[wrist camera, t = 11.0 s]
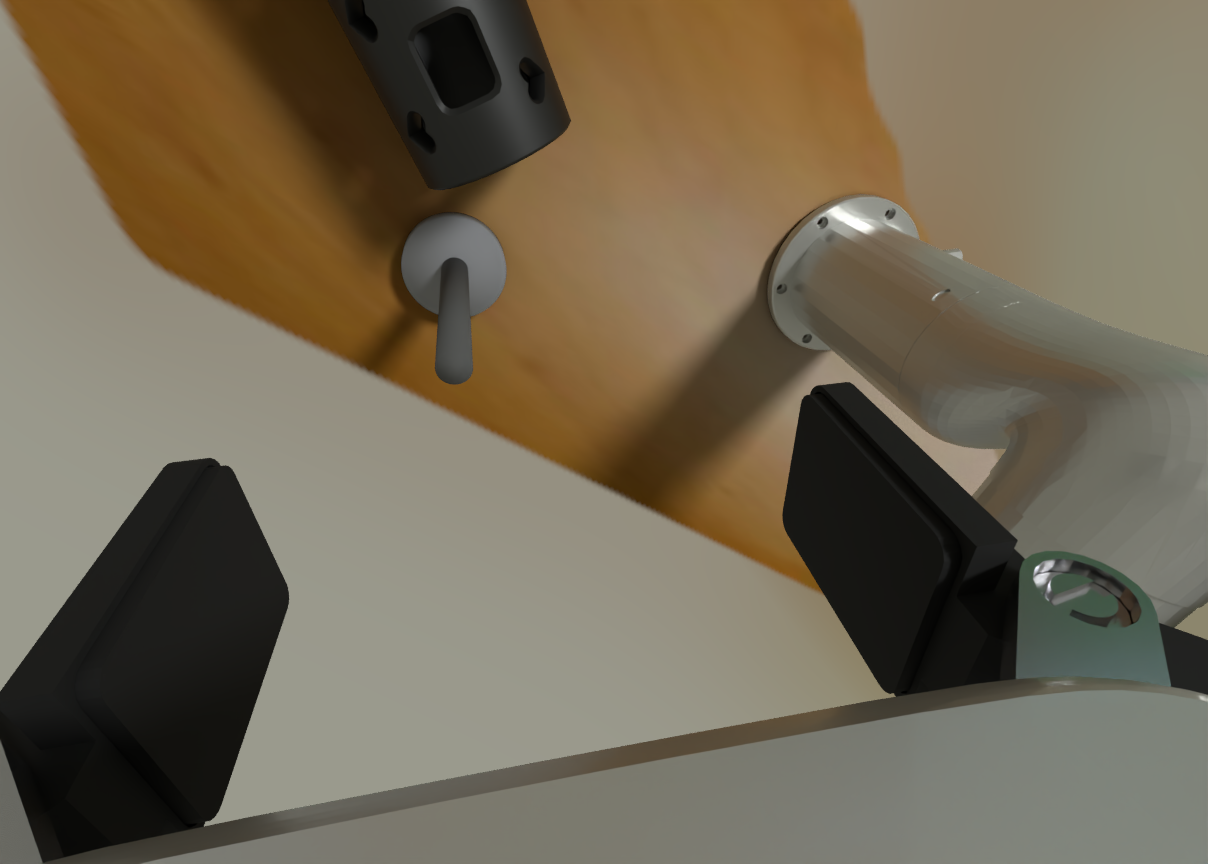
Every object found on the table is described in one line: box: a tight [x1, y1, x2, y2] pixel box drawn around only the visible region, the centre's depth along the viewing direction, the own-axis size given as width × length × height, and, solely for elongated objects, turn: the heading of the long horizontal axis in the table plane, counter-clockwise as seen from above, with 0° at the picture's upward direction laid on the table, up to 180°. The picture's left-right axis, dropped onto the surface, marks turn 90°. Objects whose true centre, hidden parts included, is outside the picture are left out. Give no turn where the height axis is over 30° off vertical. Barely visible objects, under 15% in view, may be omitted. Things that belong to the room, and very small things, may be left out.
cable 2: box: [401, 212, 506, 384], centre depth 36 cm, size 7×7×16 cm
